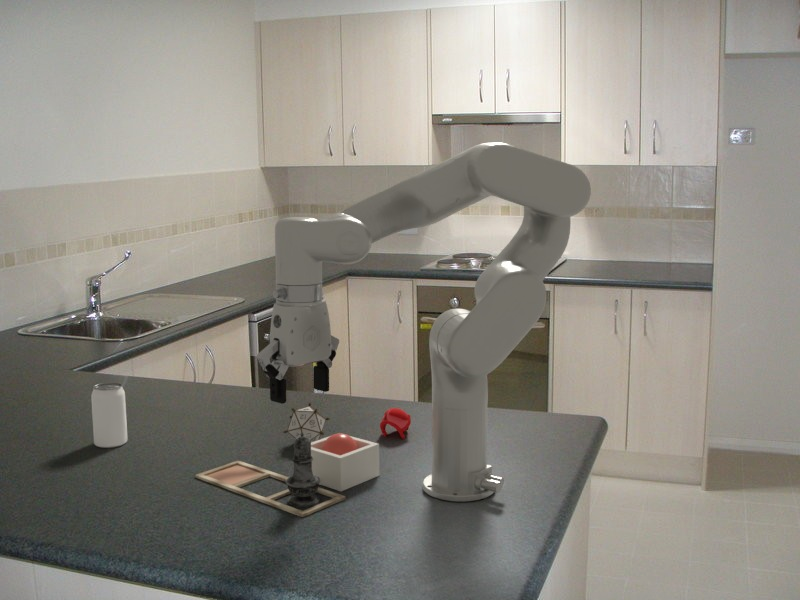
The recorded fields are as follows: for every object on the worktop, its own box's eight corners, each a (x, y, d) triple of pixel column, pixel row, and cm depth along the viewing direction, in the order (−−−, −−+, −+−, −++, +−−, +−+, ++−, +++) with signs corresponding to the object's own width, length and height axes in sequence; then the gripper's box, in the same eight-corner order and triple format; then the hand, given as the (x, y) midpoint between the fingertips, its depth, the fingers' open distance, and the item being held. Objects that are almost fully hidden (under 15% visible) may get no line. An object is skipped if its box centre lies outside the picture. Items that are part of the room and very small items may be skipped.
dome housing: (379, 475, 161) (379, 443, 160) (340, 491, 154) (340, 458, 153) (339, 463, 168) (339, 432, 167) (301, 478, 160) (300, 446, 159)
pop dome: (365, 467, 161) (364, 433, 160) (340, 477, 156) (340, 442, 155) (339, 459, 165) (339, 426, 164) (315, 469, 160) (314, 434, 159)
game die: (305, 458, 182) (312, 412, 186) (334, 452, 176) (340, 405, 181) (271, 445, 176) (279, 398, 181) (299, 439, 171) (307, 390, 175)
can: (133, 443, 180) (130, 385, 178) (104, 450, 176) (100, 391, 174) (117, 436, 185) (114, 380, 183) (88, 443, 180) (84, 386, 178)
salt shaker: (328, 498, 151) (326, 430, 149) (306, 510, 146) (305, 439, 144) (300, 491, 154) (299, 424, 152) (278, 502, 149) (276, 434, 147)
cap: (404, 428, 179) (417, 407, 183) (378, 416, 180) (391, 395, 184) (401, 450, 185) (414, 429, 188) (376, 438, 186) (389, 418, 190)
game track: (345, 499, 151) (345, 496, 150) (302, 517, 143) (302, 514, 143) (238, 462, 168) (238, 460, 168) (195, 477, 161) (195, 474, 161)
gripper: (274, 302, 135) (276, 411, 138) (352, 290, 148) (352, 389, 151) (242, 297, 140) (244, 402, 143) (321, 285, 153) (321, 382, 156)
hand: (300, 395), depth 147 cm, fingers open, 9 cm apart
